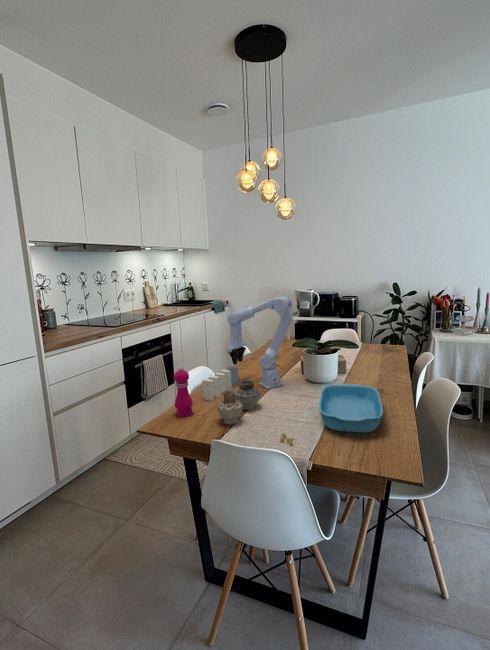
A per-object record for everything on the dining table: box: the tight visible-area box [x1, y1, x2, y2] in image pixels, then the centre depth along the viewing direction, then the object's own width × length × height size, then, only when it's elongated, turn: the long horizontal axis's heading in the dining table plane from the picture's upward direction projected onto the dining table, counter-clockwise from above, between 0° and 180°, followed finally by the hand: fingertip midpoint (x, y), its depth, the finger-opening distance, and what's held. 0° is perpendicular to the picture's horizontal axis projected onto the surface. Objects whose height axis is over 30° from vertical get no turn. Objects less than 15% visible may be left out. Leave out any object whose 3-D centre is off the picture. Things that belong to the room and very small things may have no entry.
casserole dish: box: [318, 383, 384, 434], centre depth 134 cm, size 37×22×7 cm, turn 164°
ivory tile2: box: [220, 369, 233, 390], centre depth 169 cm, size 2×5×9 cm, turn 60°
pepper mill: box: [173, 366, 194, 418], centre depth 141 cm, size 7×7×20 cm
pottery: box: [216, 379, 262, 425], centre depth 140 cm, size 11×25×12 cm, turn 153°
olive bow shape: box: [279, 432, 296, 446], centre depth 118 cm, size 5×5×2 cm
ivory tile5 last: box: [202, 378, 215, 402], centre depth 156 cm, size 2×5×9 cm, turn 60°
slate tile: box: [227, 365, 240, 387], centre depth 174 cm, size 2×5×9 cm, turn 60°
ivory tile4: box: [208, 375, 221, 398], centre depth 161 cm, size 2×5×9 cm, turn 60°
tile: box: [214, 372, 227, 394], centre depth 165 cm, size 2×5×9 cm, turn 60°
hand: (237, 362), depth 177 cm, fingers open, 4 cm apart
